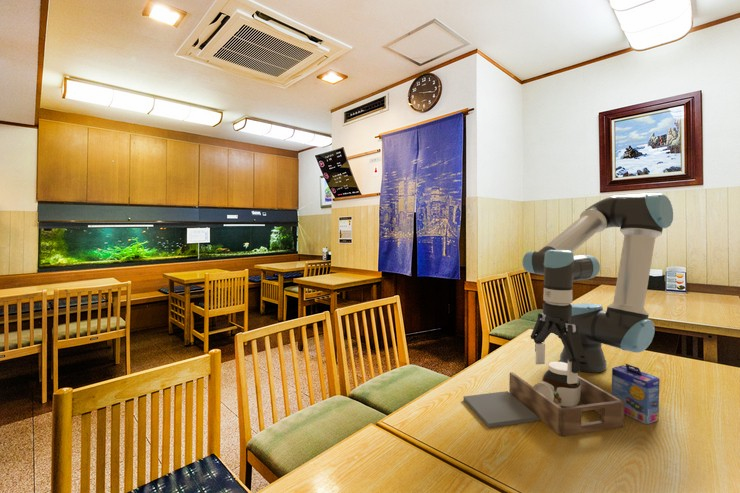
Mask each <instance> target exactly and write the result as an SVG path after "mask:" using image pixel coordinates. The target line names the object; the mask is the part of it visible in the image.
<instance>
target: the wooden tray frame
mask: <svg viewBox="0 0 740 493" xmlns="http://www.w3.org/2000/svg"><path fill="white" fill-rule="evenodd" d="M578 378H579V380H580V385H581V394H580V401H579V403H581V404H580V405H579V404H578V405H577V406H572V407H565V408H562V407H560V406H559V405H557V404H556V403H555V402H553V401H552V400H550V399H549V398H548V397H546V396H545V395H544V394H542V393H541V392H539V391H538V390H537V389H535V388H534V387H533V385H531V384H530V383H528V382H527V381H526V380H524V379H523V378H521V377H520V376H518V375H517V374H516V373H514V372H513V371H510V372H509V382H508V383H509V385H508V386H509V390H508V392H509V393H510V394H512V395H513V396H514V397H515V398H516V399H518V400H519V401H520V402H521V403H522V404H524V405H525V406H526V407H527V408H528V409H530V410H531V411H532V412H533V413H535V414H536V415H537V416H538V420H540V421H542V423H544V424H545V425H546V426H547V427H548V428H550V429H551V430H552V431H554V432H555V433H556V434H557V435H559V437H567V436H573V435H579V434H585V433H593V432H599V431H606V430H611V429H618V428H624V426H625V425H624V423H625V414H624V401H622V400H621V399H619V398H617V397H615V396H613V395H612V393H611V392H610V393H609V391H606V390H605V389H602V388H601V387H599V386H597V385H595V384H594V383H592V382H590V381H589V380H586V379H585V378H583V377H581V376H579V375H578ZM586 411H594V412H596V413H597V414H599V415H600V416H601V419H600V420H597V421H596V420H595V421H590V422H589V421H587V422H583V423H582V417H583V415H582V413H583V412H586Z"/></svg>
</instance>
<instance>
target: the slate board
mask: <svg viewBox="0 0 740 493" xmlns="http://www.w3.org/2000/svg"><path fill="white" fill-rule="evenodd" d="M463 401H464V402H465V403H466V405H467V406H468V407H469V409H471V410H472V411H473V413H475V415H477V416H478V418H479V419H480V420H481V421H482V422H483V423H484V425H485V426H486V427H487V428H488V429H489V428H498V427H505V426H509V425H510V426H511V425H519V424H526V423H532V422H538V421H539V418H538V416H537V415H536V414H535V413H533V412H532V411H531V410H530V409H528V408H527V407H526V406H525V405H524V404H522V403H521V402H520V401H519V400H518V399H516V398H515V397H514V396H513V395H512V394H510V393H509V390H508V391H507V390H506V391H498V392H488V393H480V394H473V395H472V394H471V395H464V396H463Z"/></svg>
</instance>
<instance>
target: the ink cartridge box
mask: <svg viewBox="0 0 740 493" xmlns="http://www.w3.org/2000/svg"><path fill="white" fill-rule="evenodd" d="M660 381H661V380H660V378H659V377H658V376H655V375H652V374H650V373H647V372H644V371H641V370H640V368H639V367H638V366H633V365H631V364H628V363H625V365H624V364H623V365H619V366H615V367H613V368H611V394H612V395H613V396H615V397H617V398H619V399H621V400H622V401H624V415H626V416H628V417H630V418H632V419H634V420H636V421H639V422H640V423H641V424H644V425H649V424H652V423H655V422H658V421H659V412H660V403H659V402H660Z"/></svg>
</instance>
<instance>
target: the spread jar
mask: <svg viewBox="0 0 740 493" xmlns="http://www.w3.org/2000/svg"><path fill="white" fill-rule="evenodd" d="M567 368H568V363H564V362H560V361H551V362H548V369H547V370H546V371H545V372H544V373H543V374H542V375H543V376H542V379H541V382H537V383H535V384H533V385H532V387H534V388H535V389H537V390H538V391H539V392H541V393H542V394H544V395H545V396H546V397H548V398H549V399H550V400H552V401H553V402H555V403H556V404H557V405H559V406H560V407H562V408H565V407H572V406H579V403H580V394H581V385H580V380H579V378H578V382H577V383H573V384H568V383H567Z"/></svg>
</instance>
